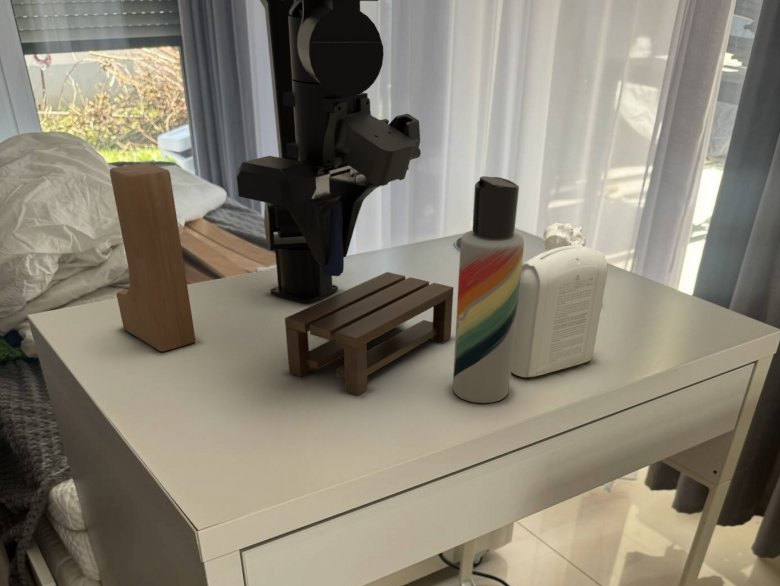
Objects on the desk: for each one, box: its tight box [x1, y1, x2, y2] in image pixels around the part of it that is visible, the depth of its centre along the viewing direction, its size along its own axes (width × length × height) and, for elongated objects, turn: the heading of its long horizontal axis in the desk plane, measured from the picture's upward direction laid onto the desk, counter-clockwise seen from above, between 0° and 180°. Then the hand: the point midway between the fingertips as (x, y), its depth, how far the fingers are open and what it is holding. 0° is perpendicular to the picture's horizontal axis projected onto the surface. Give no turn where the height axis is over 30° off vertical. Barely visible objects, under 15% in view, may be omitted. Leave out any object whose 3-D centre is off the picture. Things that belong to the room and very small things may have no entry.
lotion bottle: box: [452, 175, 525, 404], centre depth 72 cm, size 6×6×20 cm
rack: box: [284, 271, 454, 396], centre depth 83 cm, size 9×18×6 cm, turn 146°
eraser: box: [320, 200, 345, 277], centre depth 76 cm, size 2×2×7 cm
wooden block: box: [109, 162, 197, 352], centre depth 83 cm, size 9×4×18 cm, turn 43°
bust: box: [542, 221, 587, 252], centre depth 94 cm, size 12×8×11 cm
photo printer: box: [511, 245, 609, 378], centre depth 80 cm, size 10×4×12 cm, turn 123°
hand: (331, 260), depth 77 cm, fingers closed on eraser, 2 cm apart
